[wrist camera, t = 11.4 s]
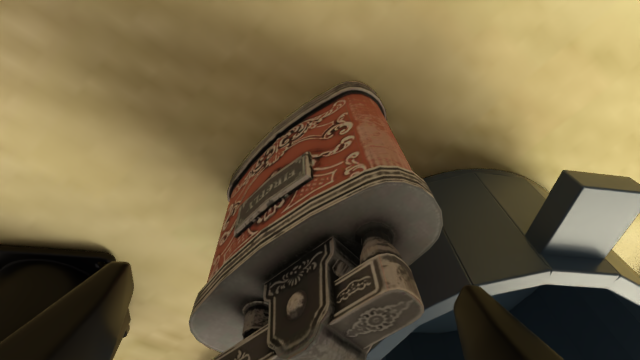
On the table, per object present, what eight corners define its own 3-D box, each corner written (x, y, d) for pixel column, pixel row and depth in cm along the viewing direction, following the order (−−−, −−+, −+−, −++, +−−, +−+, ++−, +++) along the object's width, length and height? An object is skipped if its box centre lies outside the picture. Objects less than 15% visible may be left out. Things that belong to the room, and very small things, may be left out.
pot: (317, 353, 24) (322, 471, 19) (379, 97, 15) (427, 182, 9) (489, 360, 26) (542, 471, 20) (645, 131, 16) (820, 222, 11)
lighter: (350, 60, 14) (429, 227, 6) (399, 121, 15) (521, 326, 7) (212, 181, 17) (123, 420, 8) (266, 223, 18) (237, 463, 10)
